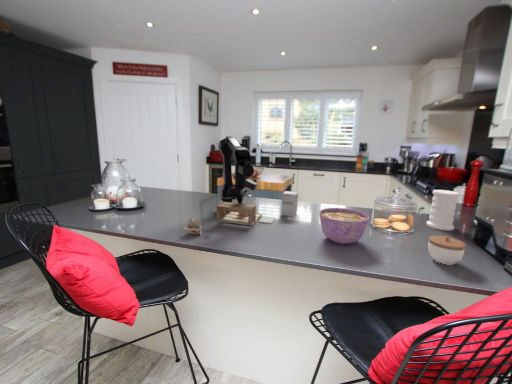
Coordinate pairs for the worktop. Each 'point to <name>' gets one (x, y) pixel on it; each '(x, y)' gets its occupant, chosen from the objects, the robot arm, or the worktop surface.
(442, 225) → the decorative container
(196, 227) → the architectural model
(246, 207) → the brown wooden u-shape
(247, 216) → the block
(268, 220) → the tile
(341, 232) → the bowl of food
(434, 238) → the lidded jar
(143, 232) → the worktop surface
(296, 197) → the supplement box
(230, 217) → the board
